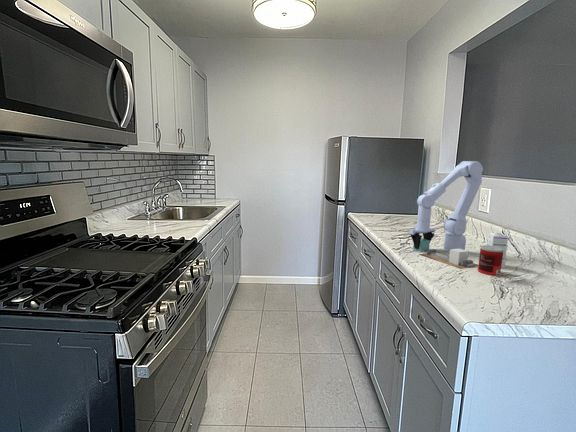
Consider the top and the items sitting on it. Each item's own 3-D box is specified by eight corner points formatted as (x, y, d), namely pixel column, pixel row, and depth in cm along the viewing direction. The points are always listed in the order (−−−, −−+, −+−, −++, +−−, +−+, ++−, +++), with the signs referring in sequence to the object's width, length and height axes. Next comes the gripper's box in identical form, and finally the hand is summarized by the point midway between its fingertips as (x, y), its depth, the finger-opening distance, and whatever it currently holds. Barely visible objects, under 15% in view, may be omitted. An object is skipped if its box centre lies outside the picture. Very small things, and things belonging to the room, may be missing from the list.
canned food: (497, 273, 136) (500, 246, 134) (502, 279, 129) (506, 251, 127) (475, 270, 138) (478, 244, 137) (479, 277, 131) (482, 249, 129)
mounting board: (436, 254, 161) (437, 251, 161) (480, 268, 142) (480, 265, 142) (417, 256, 156) (418, 254, 156) (460, 271, 137) (460, 268, 137)
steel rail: (432, 252, 159) (432, 248, 159) (473, 266, 141) (473, 261, 140) (425, 253, 157) (425, 249, 157) (466, 267, 139) (466, 262, 138)
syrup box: (504, 270, 139) (509, 236, 137) (488, 269, 141) (493, 235, 138) (499, 266, 145) (503, 233, 142) (483, 265, 146) (488, 232, 144)
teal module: (421, 249, 168) (422, 238, 167) (428, 251, 164) (429, 240, 163) (413, 250, 166) (414, 239, 165) (420, 252, 162) (421, 241, 161)
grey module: (457, 260, 148) (459, 248, 147) (467, 263, 144) (468, 251, 143) (448, 262, 145) (450, 249, 144) (458, 265, 141) (459, 252, 140)
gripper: (428, 217, 169) (425, 244, 171) (405, 219, 163) (403, 247, 165) (439, 220, 163) (437, 248, 165) (417, 222, 157) (414, 250, 159)
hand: (421, 247), depth 165 cm, fingers closed on teal module, 6 cm apart
